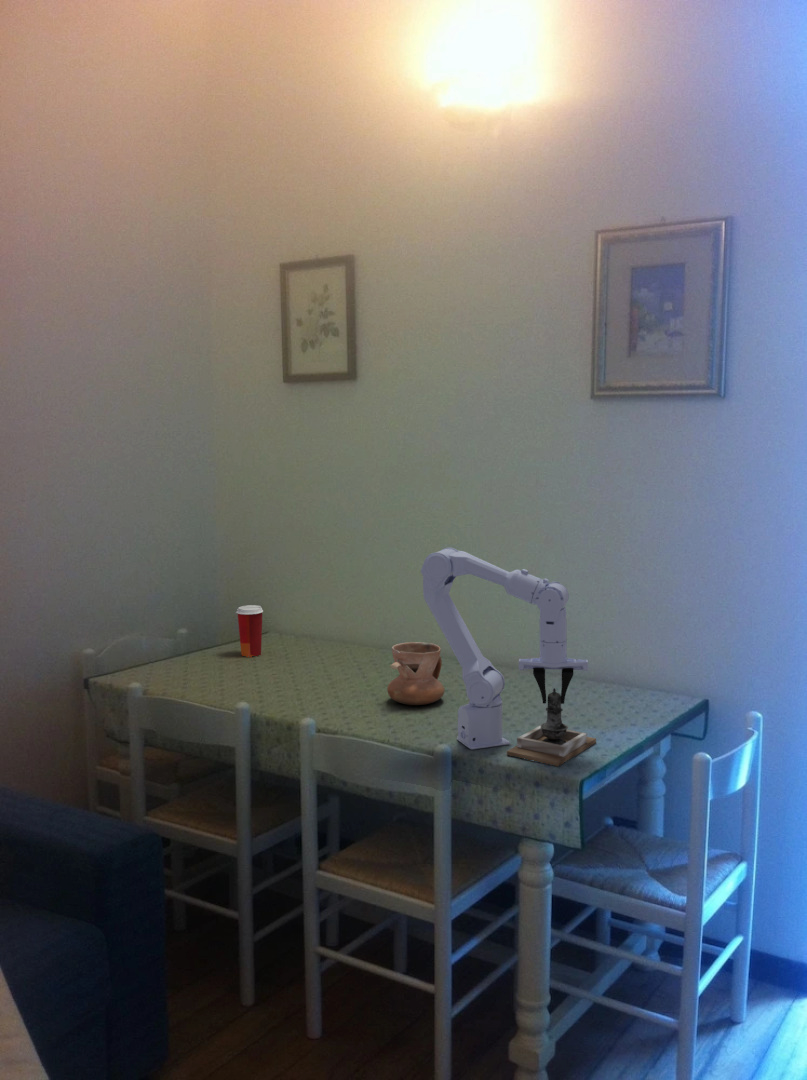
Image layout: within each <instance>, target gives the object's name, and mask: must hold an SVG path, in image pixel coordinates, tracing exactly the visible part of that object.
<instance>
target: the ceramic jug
mask: <svg viewBox="0 0 807 1080" xmlns="http://www.w3.org/2000/svg"><path fill="white" fill-rule="evenodd" d="M441 648H442V647H440V646H439V645H438V644H435V643H431V642H423V641H417V642H416V641H409V642H402V643H397V644H394V645H393V646H392V647H391V652H392V658H393V661H394V662H393V663H392V664H390V668H391V669H392V670H397V671H398V673H399V675H398V676H396V677H395V678H394V679H393V680H391V681H389V683H388V686H387V690H386V691H387V693H388V696H389V698H391V700H393V701H395V702H397V703H399V704H403V705H408V706H423V705H425V706H426V705H429V704H433V703H435V702H437V701H439V700H440V699H441V698H443V696H444V693H445V687H444V685H443V683H442V682H441V681H439V680H438V679H439V677H440V674H441V670H442V661H443V660H442V657H441V651H442V650H441Z"/></svg>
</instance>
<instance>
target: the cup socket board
mask: <svg viewBox="0 0 807 1080" xmlns="http://www.w3.org/2000/svg"><path fill="white" fill-rule="evenodd" d="M541 725H542V724H540V725H538V726H536V727H535V728H533V729H531V730H529V731H528V732H526V733H524V734H522V735H520V736H518V737H517V738H516V741H517V742H516V744H517V745H516V746H513V747H512V748H510V749H507V751H506V756H507V755H510V756H509V757H511V756H516V757H520V758H525V759H528V760H527V761H529V760H534V761H538V762H542V763H541V764H543V763H546V764H545V765H548V764H551V765H550V766H552V765H555V766H554V767H557V766H558V767H560V766H561V764H562V765H563V764H564V762H565V761H566V762H568V761H569V759H570V760H572V759H573V758H574V757H576V756H577V755H579V754H581V753H582V752H584V751H585V750H587V749H588V748H590V747H591V745H592V746H593V745H595V744H597V738H596V737H591V736H588V733H586V732H581V731H576V730H572V729H568V728H567V729H566V734H565V736H564V737H563V738H561V739H563V740H565V741H566V743H564V744H563V745H558V744H553V743H548V742H543V741H542V740H544V739H545V738H547V737H545V736H544V734H543V732H542V728H541ZM572 757H573V758H572ZM520 758H519V759H520ZM525 759H524V760H525ZM567 760H568V761H567ZM534 761H533V762H534ZM538 762H537V763H538ZM566 762H565V763H566ZM559 765H560V766H559Z"/></svg>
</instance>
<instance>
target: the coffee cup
mask: <svg viewBox="0 0 807 1080" xmlns="http://www.w3.org/2000/svg"><path fill="white" fill-rule="evenodd" d="M263 612H264V610H263V608H262V606H261V605H257V604H256V605H254V604H249V605H242V606H239V607H238V608H237V609H236V611H235V614H237V623H238V632H239V633H238V634H239V643H240V653H241V657H243V656H246V657H245V658H253V657H252V656H257V657H259V656H258V655H260V656H261V655H262V645H263V644H262V642H263V641H262V639H263V633H262V632H263ZM248 656H249V657H248Z"/></svg>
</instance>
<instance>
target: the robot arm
mask: <svg viewBox="0 0 807 1080" xmlns="http://www.w3.org/2000/svg"><path fill="white" fill-rule="evenodd" d="M420 573H421V575H422V591H423V592H422V593H423V595H422V596H423V600H424V601H425V603H426V604H427V606H428V608H429V610H430V612H431V614H432V616H433V618H434V619H435V621H436V622H437V625H438V627H439V628H440V630H441V632H442V633H443V635H444V638H445V639H446V641H447V642H448V645H449V646H450V648H451V650H452V651H453V652H452V653H453V654H454V655H455V658H456V659H457V661H458V663H459V665H460V667H461V670H462V675H461V676H462V681H463V682H464V686H465V692H466V696H467V698H468V700H469V702H468V703H466V704H464V705H460V706H459V707H458V710H457V736H456V740H457V741H459V742H460V743H461V744H463V745H464V746H466V748H468V749H469V750H478V749H484V748H492V747H499V746H505V745H506V746H507V745H510V744H511V743H510V741H509V740H508V739H506V738H504V737H503V698H502V697H501V693H503V691H504V688H505V686H506V685H505V684H506V682H505V677H504V675H503V674H502V672H500V671H499V670H498V669H496V668H495V666H494V665H493V663H492V662H491V660H489V659H488V658H486V657H485V656H484V655H483V654H482V652H481V650H480V648H479V646H478V645H477V643H476V641H475V639H474V637H473V635H472V633H471V631H470V630H469V628H468V626H467V624H466V623H465V621H464V619H463V617H462V615H461V613H460V612H459V610H458V608H457V606H456V604H455V603H454V601H453V599H452V597H451V595H450V592H451V588H452V585H453V584H454V583H453V582H454V580H455V579H456V577H460V576H465V575H472V576H473V577H477V578H479V579H484V580H485V581H488V582H491V583H494V584H497V585H499V586H501V587H503V588H504V590H505V592H506V593H507V594H508V595H509V596H512V597H514V598H516V599H518V600H519V599H520V600H521V601H523V602H526V603H529V604H531V605H533V606H535V605H536V607H537V608H538V609H539V621H538V623H539V657H532V658H519V659H518V671H519V670H520V671H522V670H532V671H533V672H532V674H533V677H534V678H535V681H536V683H537V686H538V688H539V691H540V695H541V699H542V704H547V691H546V670H559V671H561V693H560V695H561V705H564V704H565V699H566V694H567V691H568V688H569V686H570V683H571V681H572V679H573V677H574V671H575V670H576V671H583V672H585V671H586V672H589V661H588V659H579V658H569V657H567V656H568V655H567V653H568V651H567V650H568V646H567V643H568V642H567V640H568V639H567V636H568V634H567V633H568V632H567V631H568V630H567V628H568V627H567V621H568V620H567V607H566V605H567V604H568V602H569V599H570V595H569V591H568V589H567V587H566V586H564V585H563V584H562V583H561V582H559V581H551V582H550V580H549V579H548V578H546V577H545V578H541V577H537V576H535V575H533V574H530V573H529V570H527V569H526V568H523V569H514V570H512V571H508V570H506V569H504V568H502V567H499V566H498V565H494V564H492V563H490V562H488V561H486V560H483V559H481V558H480V557H477V556H475V555H473V554H471V553H469V552H467V551H463V550H458V549H456V548H454V547H445V548H443V549H441V550H439V551H437V552H432V553H429V554H428V555H427V556H426V557H425V559H424V562H423V564H422V566H421V568H420Z"/></svg>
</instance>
